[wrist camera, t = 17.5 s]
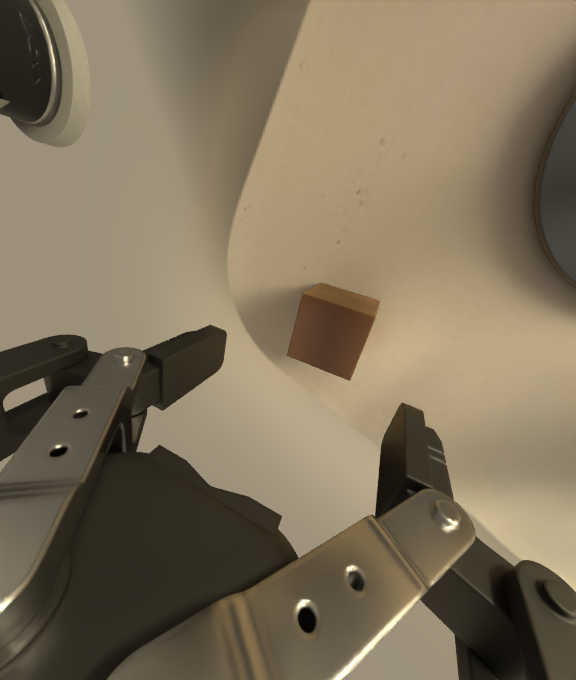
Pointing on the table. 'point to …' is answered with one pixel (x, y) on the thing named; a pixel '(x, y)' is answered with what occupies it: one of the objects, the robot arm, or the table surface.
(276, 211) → the table surface
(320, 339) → the block
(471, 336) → the table surface
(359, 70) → the table surface
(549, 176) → the lid
